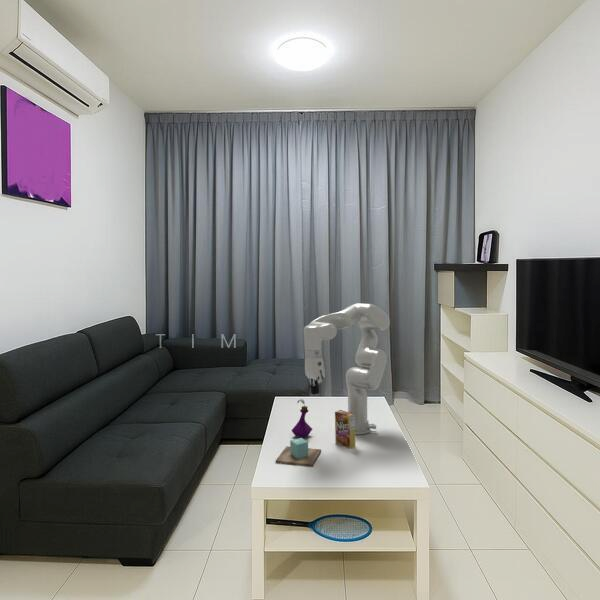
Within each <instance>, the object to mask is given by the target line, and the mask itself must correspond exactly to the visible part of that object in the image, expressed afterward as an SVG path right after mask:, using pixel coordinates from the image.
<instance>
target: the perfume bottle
mask: <svg viewBox="0 0 600 600" xmlns="http://www.w3.org/2000/svg"><path fill="white" fill-rule="evenodd" d="M299 402H301V403H302V404H303V406H301V409H300V410H299V412H300V413H301V414H300V418H299V420H298V422H297V423H296V424H295V425H294V427H293V428H292V429H291V432H292V433H293V435H294V436H295V437H297V438H298V439H299V438H303V439H305V438H306V437H308V436H309V435H310V434H311V432H312V431H313V428H312V427H311V426H310V425H309V424H308V423H307V421H306V414H307V413H308V412H309V409H308V406H307V405H305V402H306V401H305V400H304V399H302V398H301V399H298V400H297V403H296V404H299Z"/></svg>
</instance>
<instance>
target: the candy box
mask: <svg viewBox="0 0 600 600" xmlns="http://www.w3.org/2000/svg"><path fill="white" fill-rule="evenodd" d="M334 428H335V430H334V433H335V435H334V437H335V438H334V439H335V444H336V445H338V446H339V445H340V446H343V447H345V448H348V449H352V448H355V447H356V434H355V414H353V413H350V412H348V411H345V410H342V409H339V410H335V411H334Z"/></svg>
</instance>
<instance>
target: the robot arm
mask: <svg viewBox="0 0 600 600" xmlns="http://www.w3.org/2000/svg"><path fill="white" fill-rule="evenodd" d="M390 321H391V320H390V317H389V315H388V314H387V313H386V312H385V311H383V310H382V309H381V308H380V307H378V306H376V305H375V304H373V303H366V302H365V303H361V302H360V303H359V302H357V303H353V304H351V305H349V306H347V307H345V308H343V309H342V310H340V311H338V312H337V311H336V312H333V313H329V314H326V315H322V316H319V317H317V318H315V319H314V320H312V321H310V323H309V324H308V325H305V326H304V328H303V343H304V344H303V347H304V374H305V376H306V379H308V380H309V385H310V394H311V395H314V396H315V395H318V394H320V384H322V383H323V380H324V379H325V378H326V373H325V371H326V370H325V363H324V359H323V353H322V352H323V351H322V349H323V348H322V342H323V341H329V340H333V339H334V338H335V337H336V336H337V335H338V334H337V333H338V330H345V329H348V328H349V327H351V326H353V325H355V324H356V323H358V326H359V330H360V332H361V336H360V337H361V338H360V342H359V345H358V348H357V351H356V353H355V357H354V359H355V361H354V362H355V363H356V364H357V365H358V366H361V367H355V366H353V367H349V369H347V371H346V373H345V382H346V388H347V412H350V413H353V414H355V435H366V434H368V433H370V432H371V429H372V430H377V424H375V423H370V422H369V419H368V393H367V390H369V391H375V390H377V389H378V388H379V386H380V384H381V383H382V378H383V375H384V372H385V369H386V366H387V360H388V359H387V357H388V356H387V354H386V352H385V351H384V350H382V349H381V348H380V349H379V348H377V347H378V346H377V345H378V342H379V338H378V335H377V333H376V331H385V330H387V329H388V328H389V327H390V324H391V322H390ZM363 367H366V368H363ZM368 368H369V369H368Z"/></svg>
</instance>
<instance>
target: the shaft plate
mask: <svg viewBox="0 0 600 600" xmlns="http://www.w3.org/2000/svg"><path fill="white" fill-rule="evenodd" d="M321 453H322V449H321V448H312V447H311V448H309V447H308V456H305V457H301V458H295V457H294V456H293V455H291V454H290V445H289V446H288V445H287V446H285V447H284V449H283V450H282V452H281V453H280V454H279V456H278V457H277V458H276V459H275V460H274V462H275V464H280V463H281V464H282V465H291V466H300V467H301V466H302V467H311V468H312V467H314V466H315V464H316V463H317V460H318V458H319V457H320V455H321Z"/></svg>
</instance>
